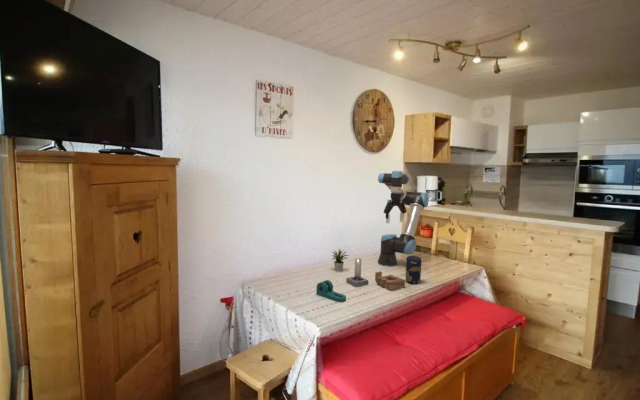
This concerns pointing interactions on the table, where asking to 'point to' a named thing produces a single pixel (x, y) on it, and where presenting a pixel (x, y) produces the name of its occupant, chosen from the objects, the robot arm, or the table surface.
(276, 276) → the table surface
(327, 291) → the bracket
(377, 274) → the yellow t-shaped block
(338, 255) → the house plant
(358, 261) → the grey rounded rod
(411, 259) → the canister
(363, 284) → the grey square frame
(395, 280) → the socket block
